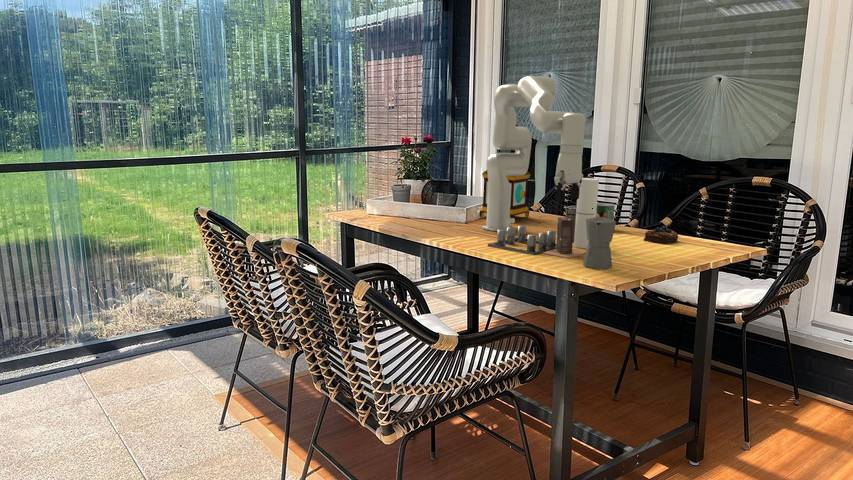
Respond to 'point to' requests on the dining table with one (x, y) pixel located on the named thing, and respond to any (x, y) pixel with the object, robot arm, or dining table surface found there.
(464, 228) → the dining table surface
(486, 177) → the decorative lantern
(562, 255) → the mat
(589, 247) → the coffeepot
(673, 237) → the pastry
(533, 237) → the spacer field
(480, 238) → the dining table surface
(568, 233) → the box
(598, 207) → the canned tomato
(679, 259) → the dining table surface
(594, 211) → the white tall block
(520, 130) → the robot arm
